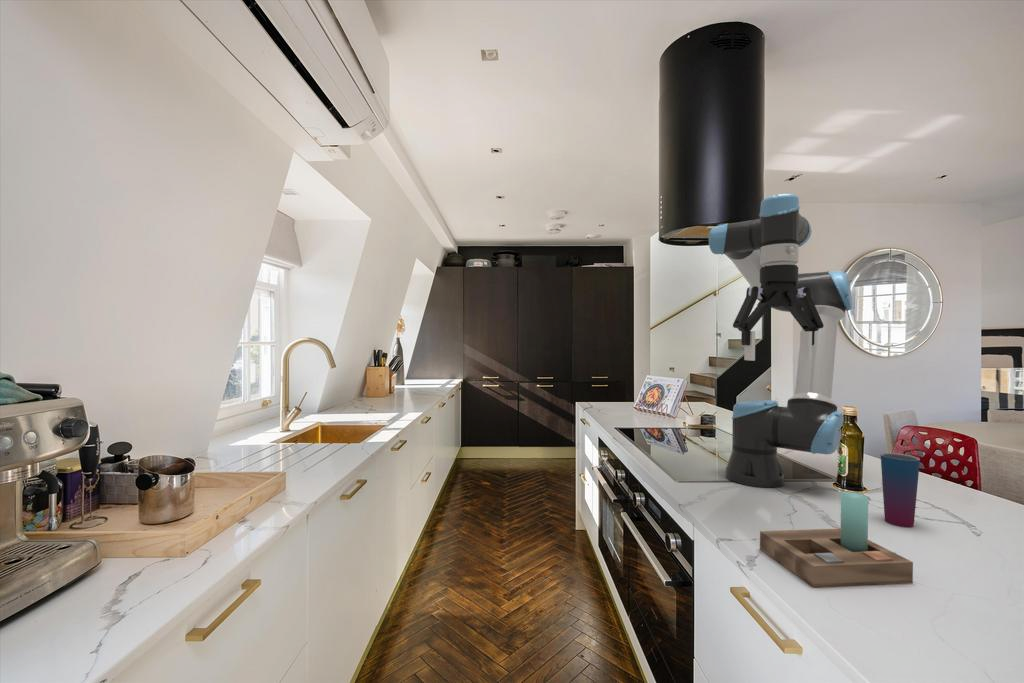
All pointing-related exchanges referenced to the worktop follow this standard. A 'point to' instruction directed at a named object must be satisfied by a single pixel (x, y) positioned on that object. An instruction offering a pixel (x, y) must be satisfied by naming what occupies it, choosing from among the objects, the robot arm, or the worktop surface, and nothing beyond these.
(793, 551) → the socket board
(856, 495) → the plug
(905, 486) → the cup
